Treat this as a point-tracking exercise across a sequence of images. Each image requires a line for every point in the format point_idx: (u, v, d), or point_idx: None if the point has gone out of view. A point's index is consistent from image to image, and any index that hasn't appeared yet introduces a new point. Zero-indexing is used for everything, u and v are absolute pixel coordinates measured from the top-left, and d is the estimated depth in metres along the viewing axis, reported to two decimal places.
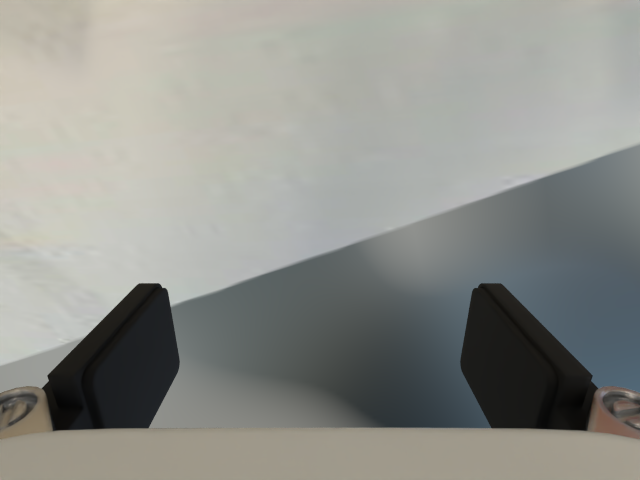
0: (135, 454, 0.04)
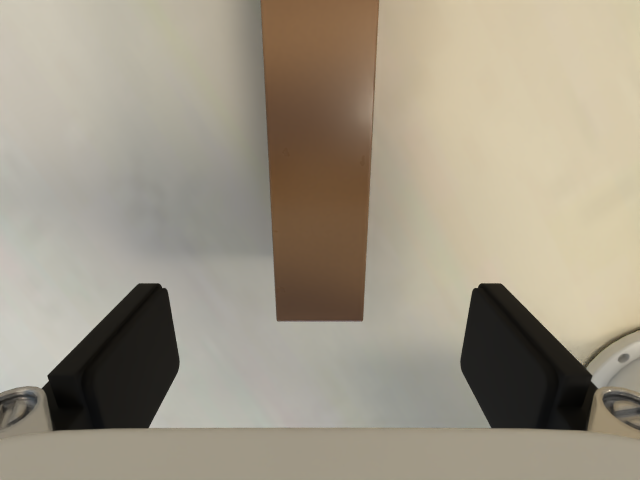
0: (135, 454, 0.04)
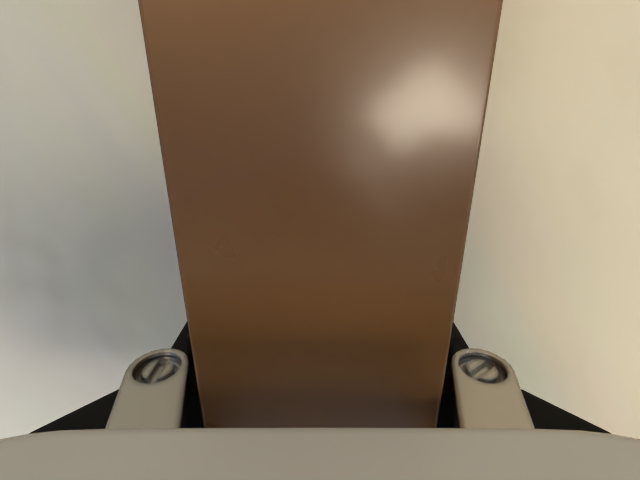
0: (135, 454, 0.04)
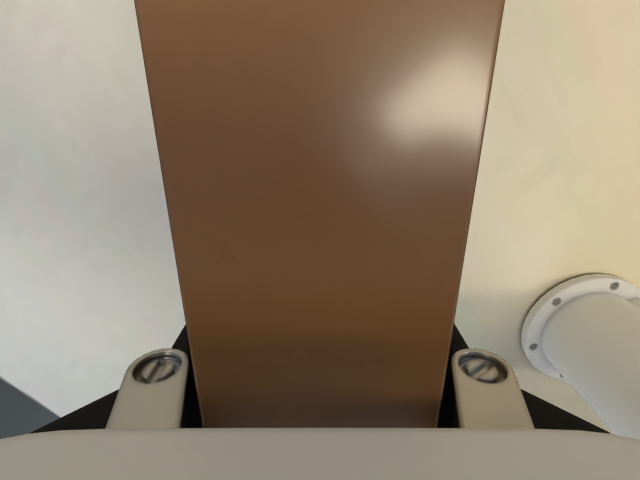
0: (135, 454, 0.04)
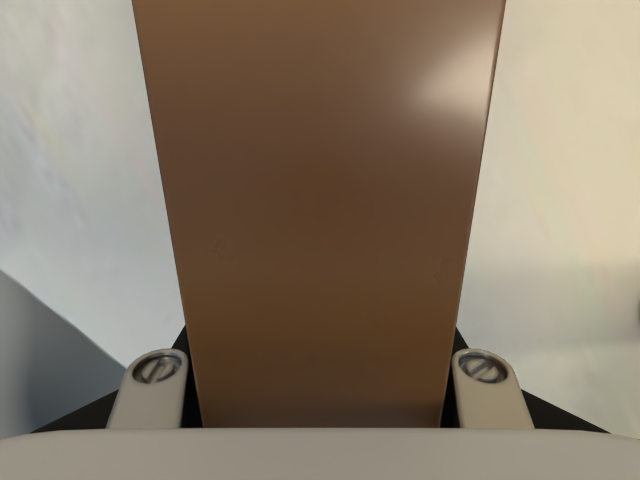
0: (135, 454, 0.04)
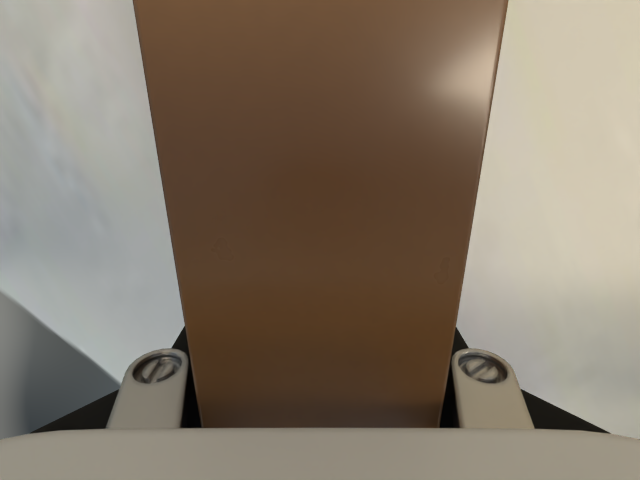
0: (135, 454, 0.04)
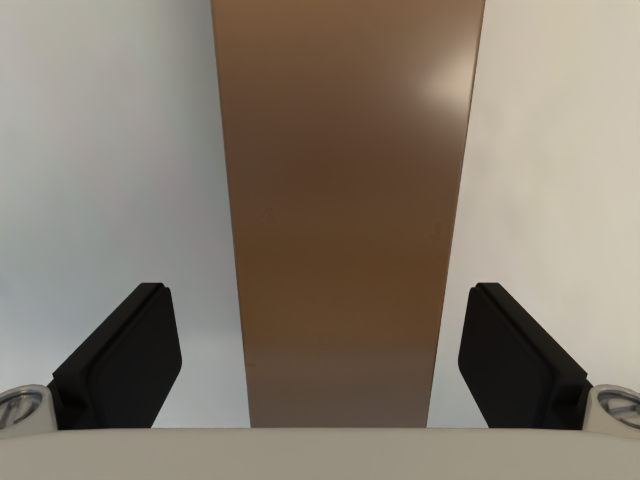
0: (135, 454, 0.04)
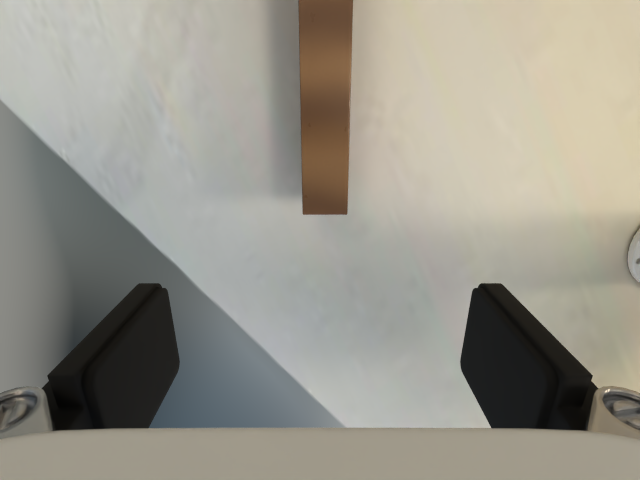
0: (135, 454, 0.04)
